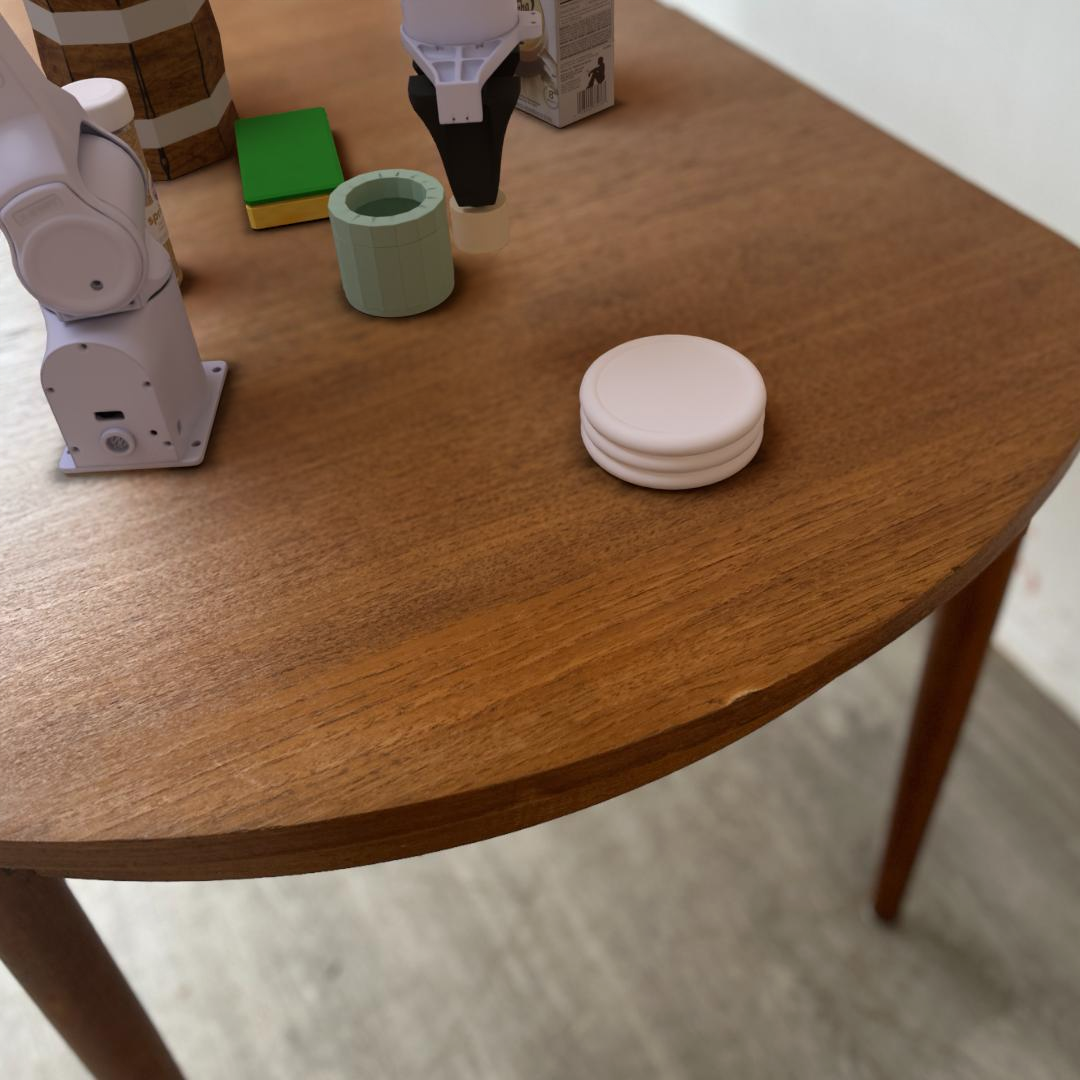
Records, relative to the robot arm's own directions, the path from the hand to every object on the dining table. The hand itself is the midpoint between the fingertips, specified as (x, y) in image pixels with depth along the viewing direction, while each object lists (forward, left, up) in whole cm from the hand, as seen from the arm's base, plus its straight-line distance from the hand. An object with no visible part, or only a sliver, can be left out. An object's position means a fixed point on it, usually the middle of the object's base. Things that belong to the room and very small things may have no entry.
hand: (477, 192), depth 66 cm
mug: (+34, +28, -10) cm, 45 cm away
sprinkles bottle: (+10, +23, -10) cm, 27 cm away
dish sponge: (+24, +15, -10) cm, 30 cm away
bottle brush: (0, 0, -3) cm, 3 cm away
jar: (+8, +6, -10) cm, 14 cm away
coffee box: (+35, -5, -10) cm, 37 cm away
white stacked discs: (-9, -10, -10) cm, 17 cm away
